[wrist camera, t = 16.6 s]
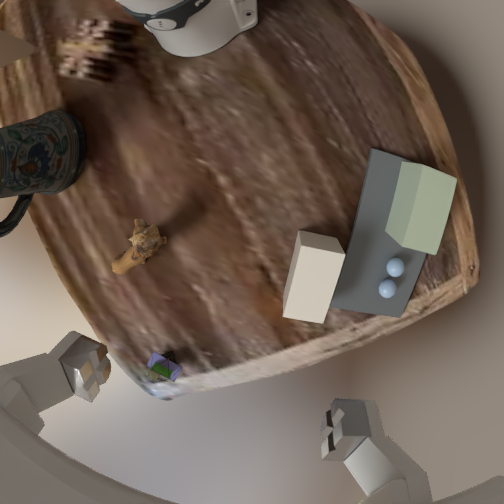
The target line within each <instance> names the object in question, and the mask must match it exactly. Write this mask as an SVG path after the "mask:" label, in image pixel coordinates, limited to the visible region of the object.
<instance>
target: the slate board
mask: <svg viewBox="0 0 504 504" xmlns="http://www.w3.org/2000/svg"><path fill="white" fill-rule="evenodd" d="M402 161H403V162H410V163H415V162H412V161H409V160H406V159H404V158H401V157H398V156H395V155H392V154H389V153H386V152H383V151H379V150H376V149H373V148H371V150H370V155H369V160H368V165H367V170H366V174H365V179H364V183H363V188H362V192H361V196H360V201H359V205H358V209H357V213H356V217H355V220H354V224H353V228H352V232H351V235H350V239H349V242H348V246H347V249H346V253H345V258H344V261H343V265H342V268H341V271H340V274H339V278H338V281H337V284H336V287H335V290H334V293H333V296H332V299H331V302H330V307H334V308H340V309H346V310H352V311H358V312H365V313H371V314H378V315H384V316H391V317H399V318H400V317H401V315H402V313H403V311H404V309H405V306H406V304H407V302H408V300H409V297H410V295H411V293H412V290H413V288H414V285H415V283H416V280H417V278H418V275H419V273H420V270H421V267H422V265H423V262H424V259H425V256H426V254H427V253H426V252H422V251H418V250H414V249H410V248H406V247H402V246H401V245H400V244H399V243H398V242H396V241H395V240H394V239H393V238H392V237H391V236H390V235H389V234H388V233H387V232H386V231H385V229H386V225H387V222H388V218H389V215H390V211H391V207H392V203H393V199H394V195H395V191H396V187H397V182H398V178H399V173H400V169H401V164H402ZM416 164H417V163H416ZM392 258H399V259H401V260H402V261H403V263H404V266H405V268H404V272H403V273H402V274H401V275H400V276H398V277H393V276H391V275H389V273H388V272H387V263H388V261H389V260H390V259H392ZM386 279H389V280H392V281H393V282H394V283H395V284H396V293H395V294H394V295H393V296H392V297H390V298H384V297H383V296H381V294H380V293H379V285H380V283H381V282H382V281H384V280H386Z"/></svg>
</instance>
